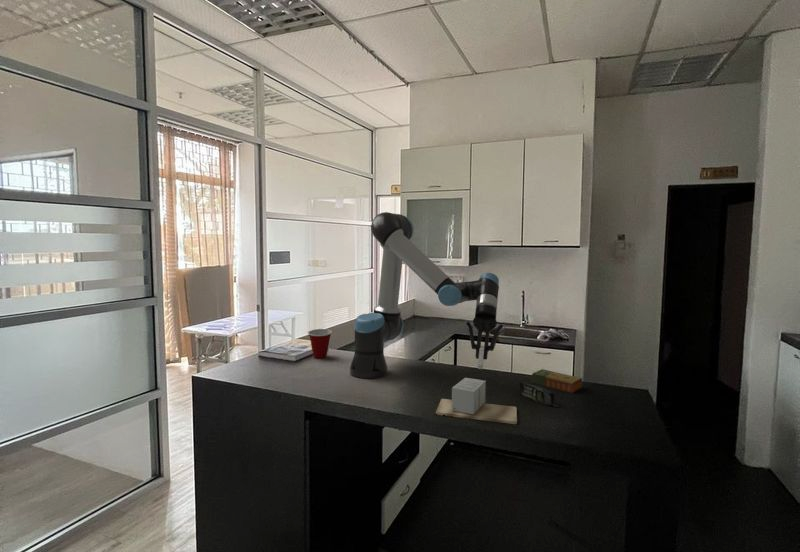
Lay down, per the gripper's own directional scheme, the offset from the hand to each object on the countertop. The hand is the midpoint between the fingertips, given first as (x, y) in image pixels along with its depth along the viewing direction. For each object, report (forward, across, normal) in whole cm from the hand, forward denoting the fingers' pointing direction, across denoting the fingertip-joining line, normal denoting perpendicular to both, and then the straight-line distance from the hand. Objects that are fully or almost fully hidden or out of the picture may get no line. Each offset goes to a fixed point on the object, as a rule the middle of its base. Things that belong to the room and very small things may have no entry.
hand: (480, 366), depth 139 cm
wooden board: (+15, 0, -2) cm, 15 cm away
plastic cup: (-14, +75, -33) cm, 83 cm away
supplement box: (+6, +1, -5) cm, 7 cm away
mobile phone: (+3, -19, -14) cm, 24 cm away
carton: (-11, -26, -28) cm, 40 cm away
